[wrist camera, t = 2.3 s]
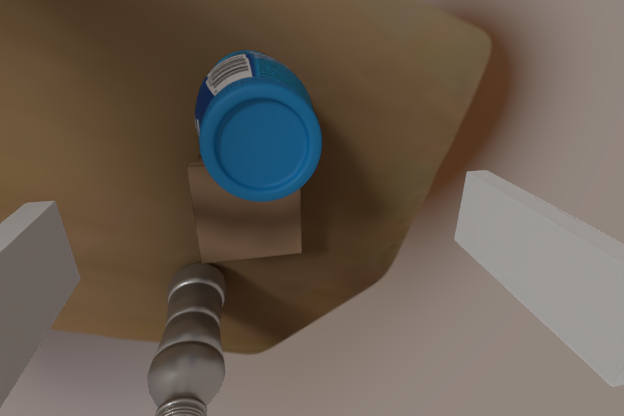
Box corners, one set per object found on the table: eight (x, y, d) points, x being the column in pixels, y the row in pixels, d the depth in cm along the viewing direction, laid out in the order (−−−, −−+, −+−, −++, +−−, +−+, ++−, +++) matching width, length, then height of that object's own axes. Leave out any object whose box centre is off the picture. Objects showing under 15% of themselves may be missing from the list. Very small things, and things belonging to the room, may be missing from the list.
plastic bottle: (159, 273, 44) (109, 434, 26) (208, 246, 44) (191, 390, 26) (191, 308, 47) (166, 474, 29) (237, 283, 47) (240, 435, 29)
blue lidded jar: (298, 60, 37) (358, 84, 19) (281, 141, 40) (319, 226, 23) (211, 38, 35) (189, 43, 17) (200, 126, 38) (172, 207, 20)
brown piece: (194, 145, 39) (186, 167, 32) (289, 140, 40) (300, 160, 34) (206, 229, 43) (201, 263, 37) (291, 221, 45) (301, 252, 38)
